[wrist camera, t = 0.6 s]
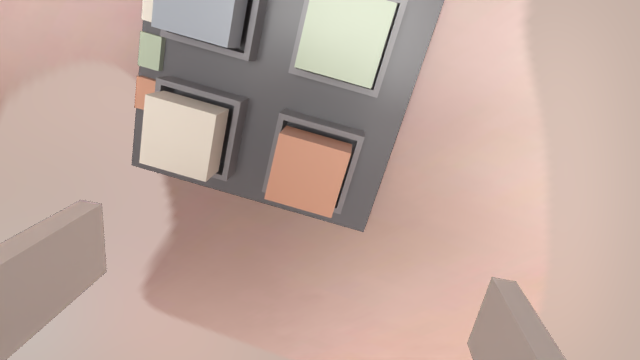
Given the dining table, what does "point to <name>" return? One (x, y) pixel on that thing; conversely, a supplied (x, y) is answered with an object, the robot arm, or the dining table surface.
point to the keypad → (288, 97)
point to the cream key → (182, 135)
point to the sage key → (345, 38)
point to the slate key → (202, 19)
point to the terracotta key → (307, 171)
